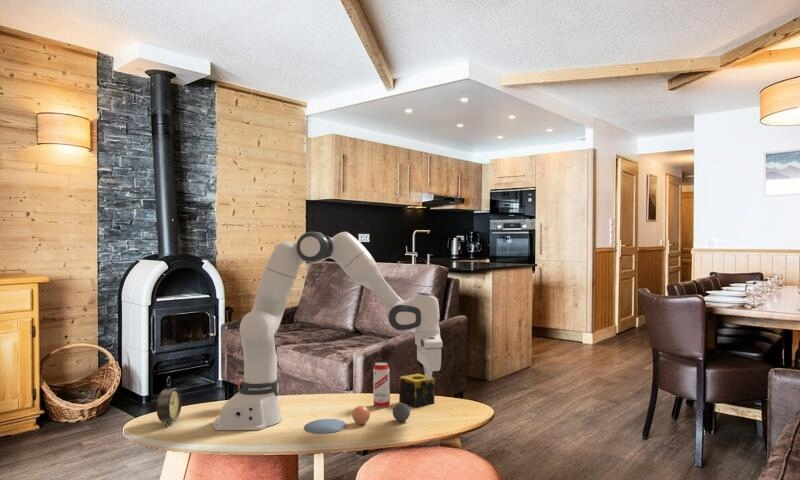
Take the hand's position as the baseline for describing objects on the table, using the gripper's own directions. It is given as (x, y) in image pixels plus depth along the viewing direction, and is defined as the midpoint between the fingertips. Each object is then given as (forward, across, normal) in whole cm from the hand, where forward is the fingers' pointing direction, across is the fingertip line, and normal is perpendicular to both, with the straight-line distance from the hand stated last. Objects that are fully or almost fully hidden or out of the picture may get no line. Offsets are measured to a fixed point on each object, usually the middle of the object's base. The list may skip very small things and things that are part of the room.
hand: (428, 378), depth 173 cm
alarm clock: (+13, -14, -89) cm, 91 cm away
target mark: (+14, 0, -36) cm, 38 cm away
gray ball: (+11, 0, -10) cm, 15 cm away
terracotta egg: (+11, 0, -24) cm, 26 cm away
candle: (+14, -20, 0) cm, 25 cm away
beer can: (+14, -19, -14) cm, 27 cm away
